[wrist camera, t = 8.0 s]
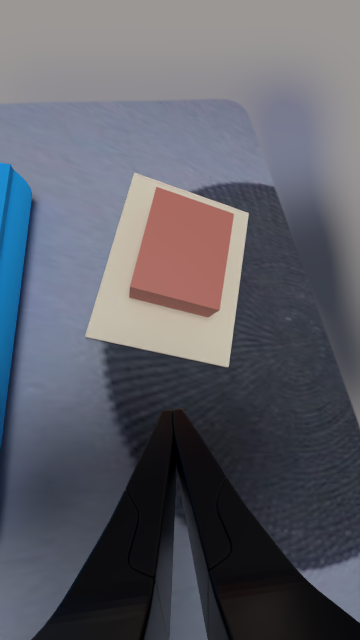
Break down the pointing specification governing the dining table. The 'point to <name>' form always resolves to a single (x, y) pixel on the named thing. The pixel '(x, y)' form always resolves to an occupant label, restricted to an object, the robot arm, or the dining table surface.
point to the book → (10, 266)
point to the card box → (183, 255)
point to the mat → (155, 320)
